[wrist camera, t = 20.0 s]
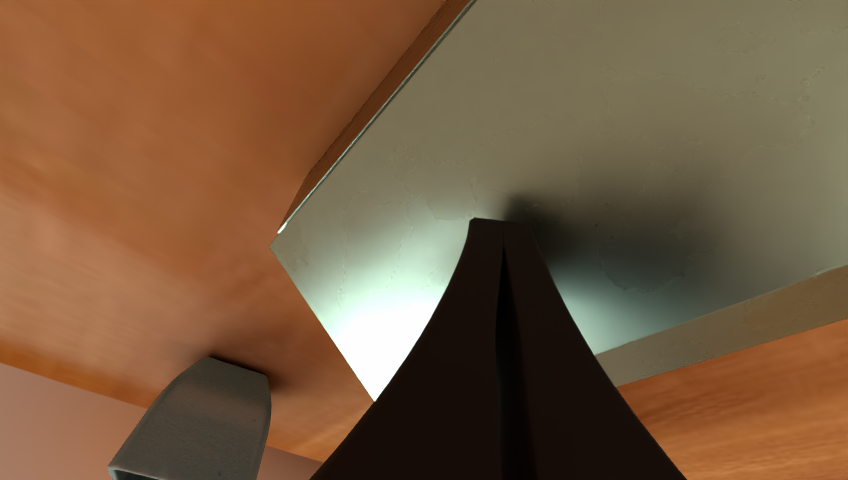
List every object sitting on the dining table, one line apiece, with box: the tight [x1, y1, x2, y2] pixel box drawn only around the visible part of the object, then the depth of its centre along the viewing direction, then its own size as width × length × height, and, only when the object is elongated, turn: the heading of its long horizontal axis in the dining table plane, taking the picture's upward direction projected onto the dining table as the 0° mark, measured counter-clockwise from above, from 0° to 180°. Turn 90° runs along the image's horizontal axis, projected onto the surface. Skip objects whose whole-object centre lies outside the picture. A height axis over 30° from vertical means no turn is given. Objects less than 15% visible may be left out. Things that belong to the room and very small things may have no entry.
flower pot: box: [107, 357, 271, 480], centre depth 32 cm, size 9×9×9 cm
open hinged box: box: [277, 0, 848, 387], centre depth 16 cm, size 17×17×4 cm
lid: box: [269, 0, 848, 401], centre depth 11 cm, size 17×8×1 cm
